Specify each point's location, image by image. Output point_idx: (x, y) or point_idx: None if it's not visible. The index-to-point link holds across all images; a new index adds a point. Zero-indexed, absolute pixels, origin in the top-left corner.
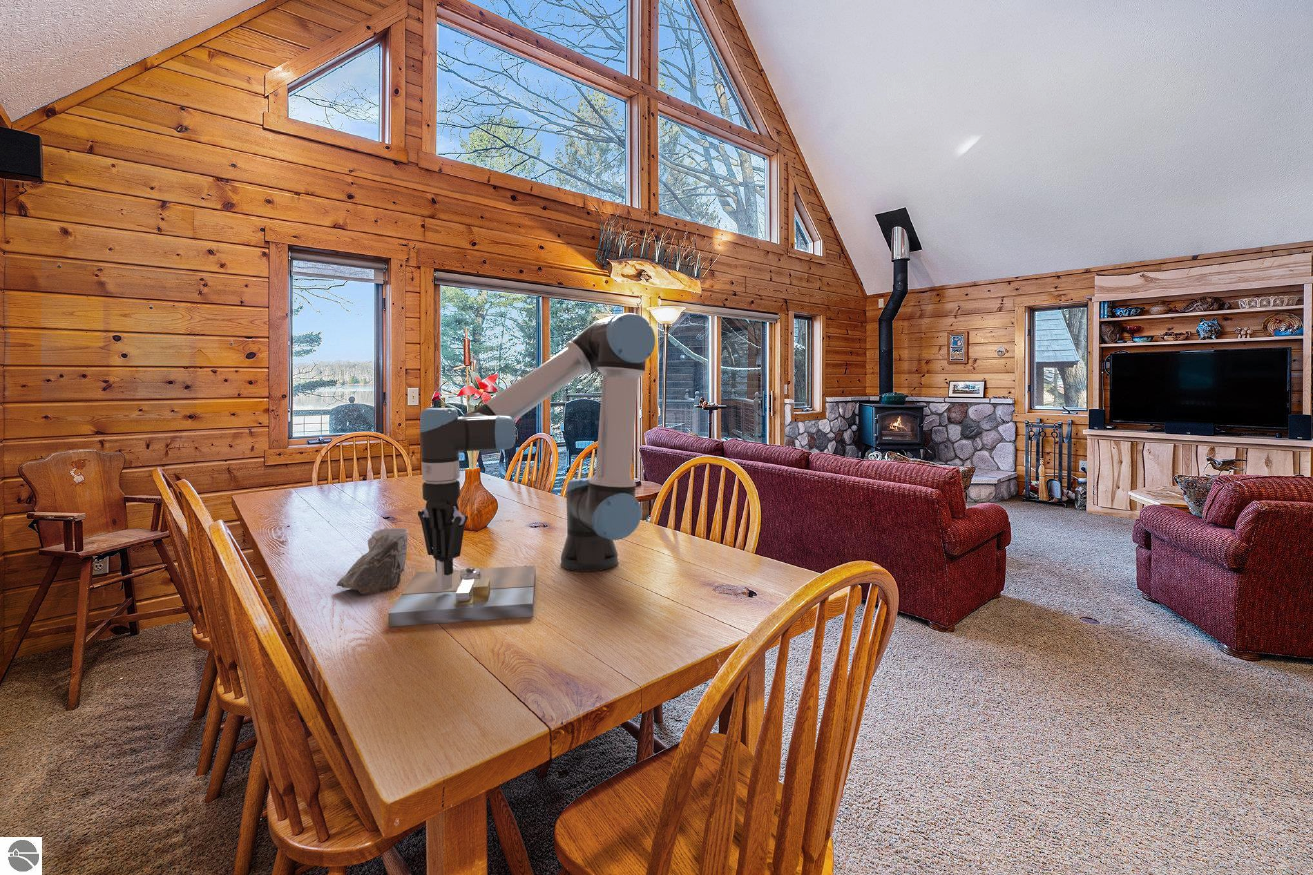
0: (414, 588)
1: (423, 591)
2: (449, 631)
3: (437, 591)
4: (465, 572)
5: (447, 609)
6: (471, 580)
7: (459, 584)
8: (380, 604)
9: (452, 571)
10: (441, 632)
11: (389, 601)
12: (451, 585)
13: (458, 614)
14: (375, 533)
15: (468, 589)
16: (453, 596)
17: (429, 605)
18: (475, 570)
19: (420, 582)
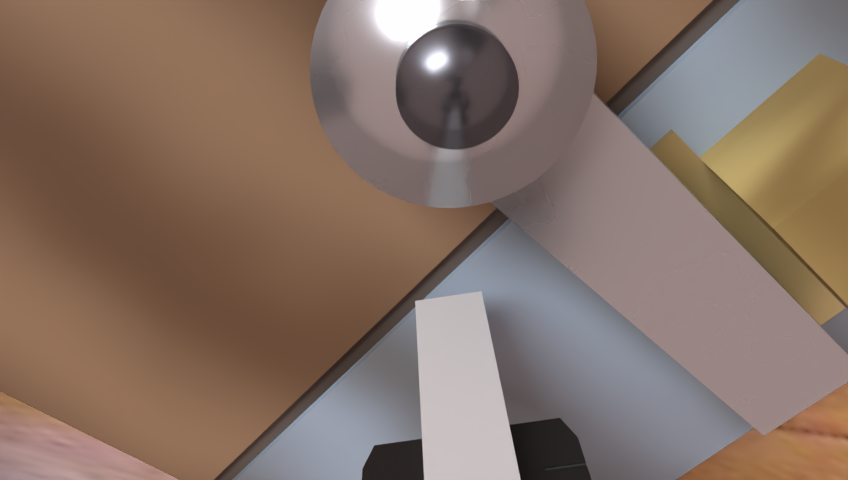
0: (140, 398)
1: (265, 387)
2: (794, 419)
3: (354, 327)
4: (439, 150)
5: (732, 438)
6: (634, 181)
7: None
8: (84, 469)
9: (580, 448)
10: (762, 445)
11: (63, 424)
12: (483, 309)
13: None
14: None
15: (807, 338)
16: (573, 309)
17: None
18: (480, 7)
19: (2, 308)
